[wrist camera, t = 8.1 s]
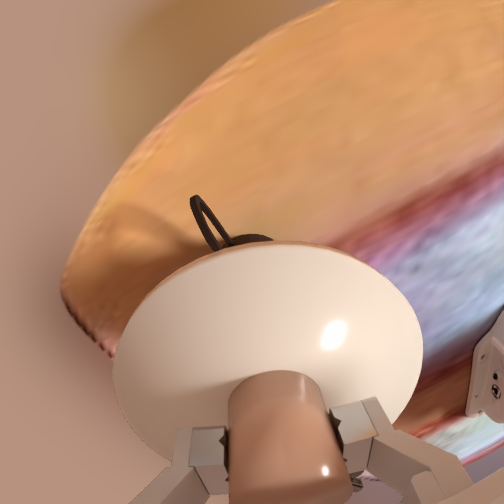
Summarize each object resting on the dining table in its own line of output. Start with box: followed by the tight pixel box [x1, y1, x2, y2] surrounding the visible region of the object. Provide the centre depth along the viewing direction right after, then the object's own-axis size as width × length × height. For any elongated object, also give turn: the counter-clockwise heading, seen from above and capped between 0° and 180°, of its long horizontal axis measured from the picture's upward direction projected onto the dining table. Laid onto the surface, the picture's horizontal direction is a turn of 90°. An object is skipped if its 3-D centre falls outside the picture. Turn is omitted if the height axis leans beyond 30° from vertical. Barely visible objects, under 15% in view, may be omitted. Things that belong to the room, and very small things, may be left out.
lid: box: [113, 240, 423, 504], centre depth 8 cm, size 11×11×5 cm
